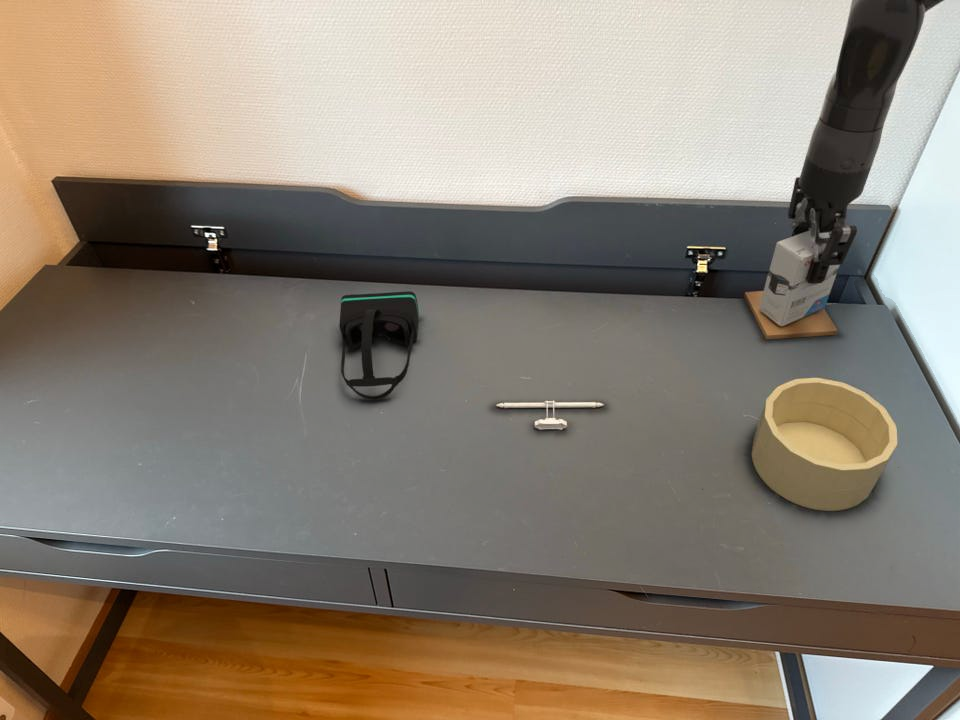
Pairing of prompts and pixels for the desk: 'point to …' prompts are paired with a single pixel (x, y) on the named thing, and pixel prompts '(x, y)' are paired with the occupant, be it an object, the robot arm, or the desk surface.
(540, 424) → the picture light
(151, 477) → the desk surface
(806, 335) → the plate
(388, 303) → the virtual reality headset
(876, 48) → the robot arm
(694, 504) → the desk surface
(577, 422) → the desk surface
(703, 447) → the desk surface
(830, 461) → the pot
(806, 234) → the ink box
